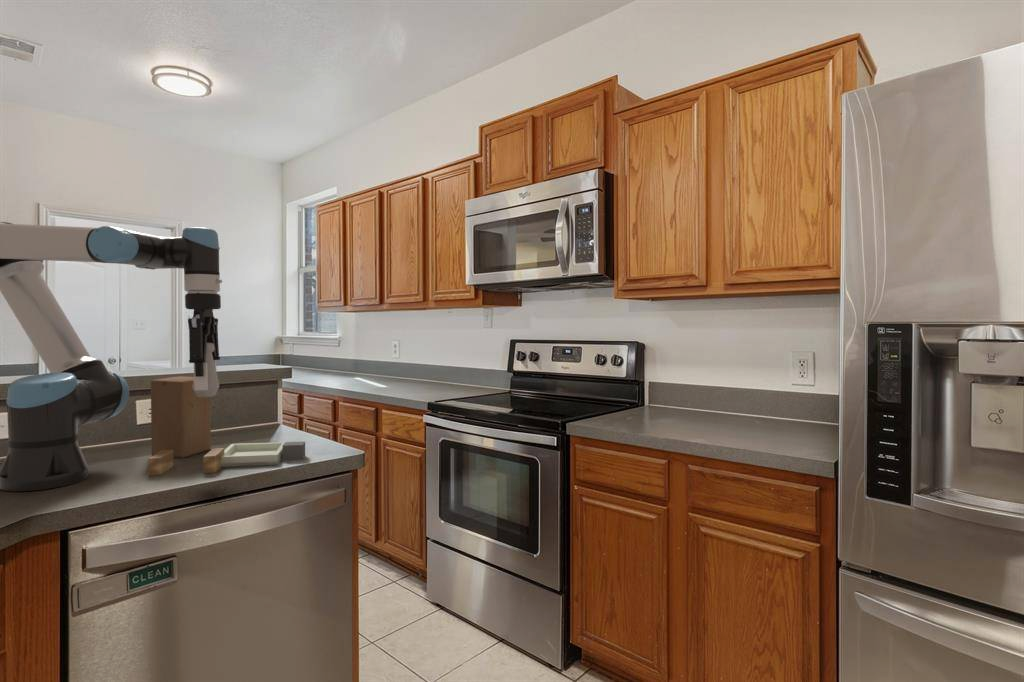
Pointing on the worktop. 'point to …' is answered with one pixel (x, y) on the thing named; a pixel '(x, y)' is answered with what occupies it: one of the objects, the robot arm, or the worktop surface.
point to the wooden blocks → (165, 461)
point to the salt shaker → (209, 375)
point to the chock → (293, 450)
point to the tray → (252, 454)
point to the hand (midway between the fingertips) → (206, 388)
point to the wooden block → (179, 417)
